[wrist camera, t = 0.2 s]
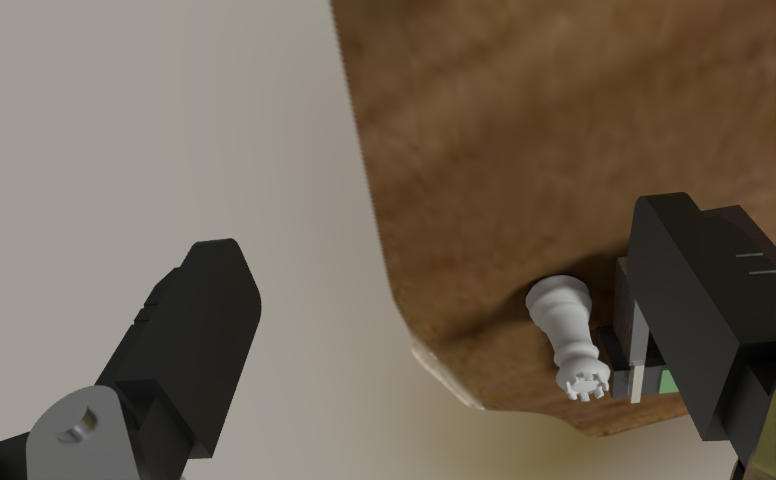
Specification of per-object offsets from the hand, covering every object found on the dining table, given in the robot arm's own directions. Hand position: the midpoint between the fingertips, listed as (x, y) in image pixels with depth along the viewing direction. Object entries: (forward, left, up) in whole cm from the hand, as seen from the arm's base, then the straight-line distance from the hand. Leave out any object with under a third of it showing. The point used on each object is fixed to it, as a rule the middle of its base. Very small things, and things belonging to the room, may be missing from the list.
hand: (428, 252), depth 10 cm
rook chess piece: (+22, +6, -18) cm, 29 cm away
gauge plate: (+23, +10, -16) cm, 30 cm away
